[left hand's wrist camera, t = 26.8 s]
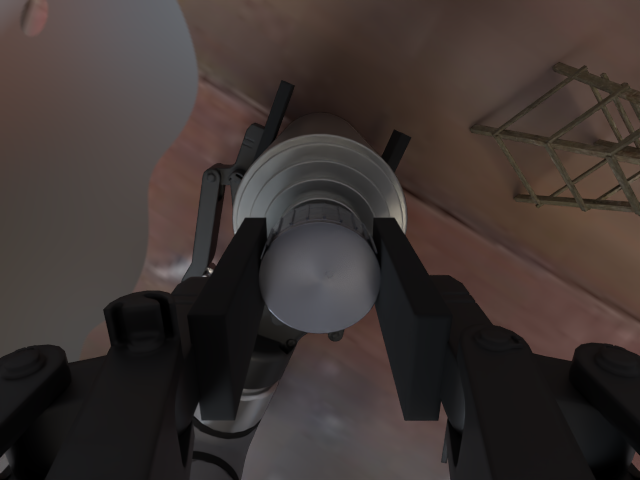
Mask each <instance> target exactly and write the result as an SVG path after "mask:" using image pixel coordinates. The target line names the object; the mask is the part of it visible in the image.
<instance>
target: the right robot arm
mask: <svg viewBox="0 0 640 480" xmlns="http://www.w3.org/2000/svg"><path fill="white" fill-rule="evenodd" d="M294 87H295V85H292V84H290V83H288V82H286V81H283V80H281V83H280V86H279V89H278V92H277V94H276V97H275V100H274V103H273V106H272V109H271V112H270V114H269V117H268V120H267V123H266V126H262V125H260V124H258V123H253V124H251V126H250V127H249V128H248V129H247V131H246V134H245V137H244V140H243V143H242V146H241V149H240V151H239V154H238V157H237V160H236V163H235V164H233V165H223V164H221V163H217V164H215V165H213V166H212V167H210V168H209V169H207V170H206V171H205V172H204V174H203V178H202V186H201V194H200V202H199V210H198V218H197V226H196V234H195V241H194V249H193V257H192V263H191V265H190V267H189V268H188V270H187V272H186V274H185V275H184V277H183V279H182V281H181V282H183V281H185V280H186V279H188V278H189V277H210V276H211V274H212V272H213V271H214V269H215V267H216V265H215V264H214V263H211V262H212V260H213V258H214V255H215V251H216V246H217V239H218V233H219V226H220V219H221V212H222V206H223V199H224V192H225V186H226V185H231V195H232V206H233V204H234V199H235V195H236V192H237V189H238V186H239V184H240V182H241V180H242V178H243V176H244V175H245V173H246V172H247V170H248V169H249V168H250V166H251V165H252V164H253V163H254V162H255V161H256V160H257V159H258V157H259V156H260V155H261V154H262V153H263V152H264V151H265V150H266V149H267V148H268V147H269V146H270V145H271V144H272V143H273V142H274V140H275V139H276V136H277V133H278V131H279V128H280V125H281V123H282V120H283V117H284V114H285V112H286V109H287V106H288V103H289V101H290V98H291V95H292V92H293V90H294ZM410 139H411V137H409V136H407V135H405V134H403V133H401V132H399V131H397V130H394V131H393V133H392V135H391V138H390V140H389V142H388V144H387V146H386V148H385V150H384V153H383V155H382V157H381V158H382V159H383V160H384V161H385V162H386V163H387V164H388V165H389V166H390V168H391V169H392V171H393V172H395V170H396V168H397V166H398V164H399V162H400V160H401V158H402V156H403V154H404V152H405V149H406V147H407V145H408V143H409V141H410ZM307 333H308V332H304V331H300V330H297V329H294V328H292V327H290V326H288V325H286V324H285V323H283V322H282V321H280V320H279V319H278V318H277V317H276V316H274V315H273V313H272V312H271V311H270V310H269V309H268V307H267V306H266V304H265V306H264V310H263V314H262V318H261V322H260V326H259V330H258V333H257V337H256V341H255V345H254V349H253V353H252V357H251V361H250V365H249V368H248V372H247V376H246V380H245V384H244V388H243V392H242V396H241V400H240V403H239V407H238V411H237V415H236V419H235V421H201V414H200V407H199V403H198V405H197V408H196V410H195V413H194V416H193V418H192V419H193V426H194V433H195V440H194V448H193V456H192V464H191V472H190V480H241V477H242V472H243V467H244V462H245V458H246V454H247V451H248V448H249V445H250V443H251V441H252V438H253V436H254V434H255V431H256V429H257V427H258V424H259V423H260V421H261V419H262V417H263V415H264V413H265V411H266V409H267V407H268V405H269V403H270V400H271V398H272V396H273V394H274V392H275V390H276V388H277V386H278V382H279V379H280V378H281V376H282V375H283V372H284V370H285V368H286V366H287V364H288V362H289V360H290V357H291V355H292V353H293V351H294V349H295V347H296V345H297V343H298V341H299V339H300V338H301V337H303V336H304V335H305V334H307ZM343 333H344V329H343V330H340V331H336V332H331V333H328V337H329V339H330V340H331V341H339V340H341V339H342V337H343Z"/></svg>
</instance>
